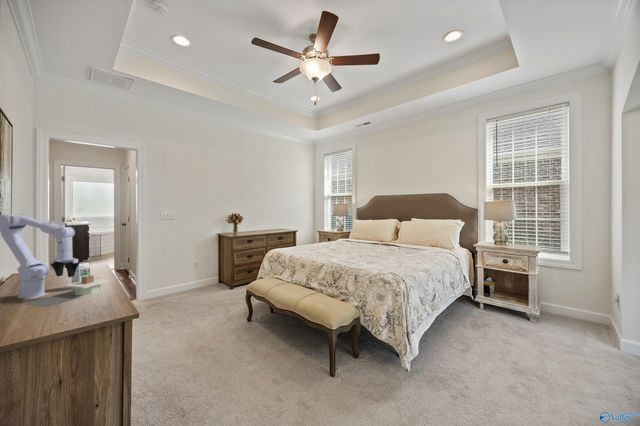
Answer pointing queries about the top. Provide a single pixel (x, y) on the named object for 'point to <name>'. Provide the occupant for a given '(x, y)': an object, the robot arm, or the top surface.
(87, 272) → the syrup box
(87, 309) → the top surface
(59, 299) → the charcoal mat
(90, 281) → the cover sheet
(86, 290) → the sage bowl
